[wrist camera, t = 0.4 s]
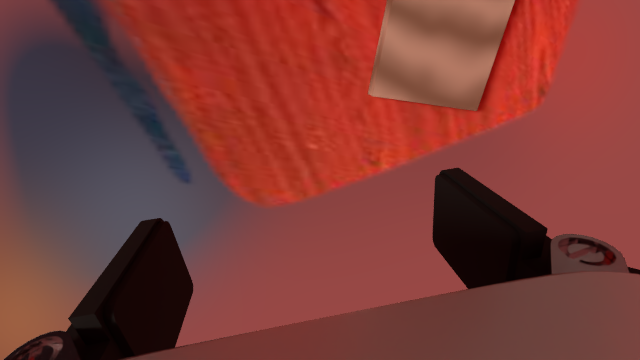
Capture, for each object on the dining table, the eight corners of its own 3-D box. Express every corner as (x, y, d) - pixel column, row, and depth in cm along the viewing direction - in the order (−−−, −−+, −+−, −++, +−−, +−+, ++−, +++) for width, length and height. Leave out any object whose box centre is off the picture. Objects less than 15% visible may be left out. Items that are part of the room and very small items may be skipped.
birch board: (404, -85, 31) (412, -93, 30) (521, -55, 34) (535, -60, 32) (367, 93, 38) (372, 96, 36) (467, 108, 41) (476, 111, 39)
